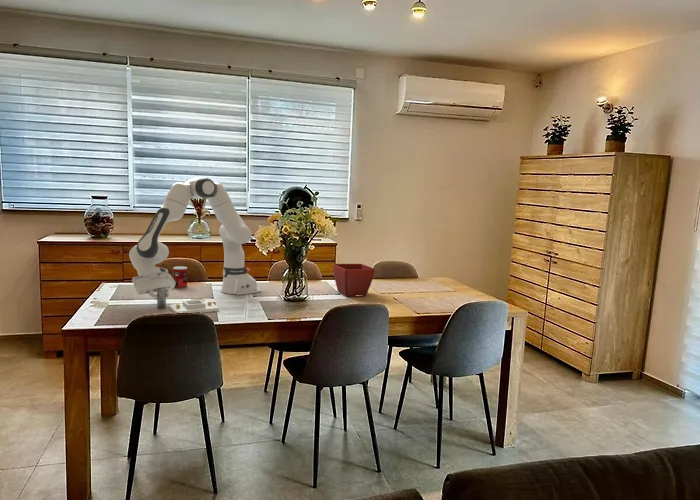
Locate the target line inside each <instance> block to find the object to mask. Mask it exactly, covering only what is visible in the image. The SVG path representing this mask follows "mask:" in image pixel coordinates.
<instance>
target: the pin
mask: <svg viewBox="0 0 700 500" xmlns="http://www.w3.org/2000/svg"><path fill="white" fill-rule="evenodd" d="M156 295H158V297H159V298H158V299H156V300H157V301H156V308H157V309H166V308H167V297H166V289H165V288H159V289H157V292H156Z"/></svg>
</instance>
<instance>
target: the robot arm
mask: <svg viewBox="0 0 700 500" xmlns="http://www.w3.org/2000/svg"><path fill="white" fill-rule="evenodd" d="M192 199H194V200H200V199H207V201H208V202H209V205H210V207H211V210H212V211H213V213H214V215H215V218H216V220H217V221H219V222H220V224H221V225H220V227H219V231H218V232H219V235H220V237H221V241H222V245H223V253H224V254H223V255H224V258H223V260H224V261H223V267H222V268H223V270H222V276H223V279H222V285H221V288H220V292H221V293H224V294H229V295H237V296H239V295H246V294H254V293H261V292H262V289H261V287H258V283H257V280H256V279H255V278H254V277H253V276H251V275H250V274H249V272H251V269H250V268H249V267H246V266H245V251H244V249H243V246H242V245H243V244H247V243H249V241H251V239H252V234H253V233H252V230H251V229H250V228H249V227H248V226H247V224H246V223H245V221H244V220H243V218H242V217H241V216H240V215H239V213H238V211H237V209H236V208H235V205H234V203H233V202H232V199H231V197H230V195H229V194H228V191H227V190H226V188H225V187H224V186H223V183H220V182H217V181H215V182H214V181H213V180H212V179H211V178H210V177H209V178H208V177H204V176H203V177H199V176H197V177H194V178H188V179H186V180H184V181H183V182H181V181H180V182H175V183H173V184H172V186H171V187H170V189H169V191H168V192H167V194H166V197H165V199H164V201H163V203H162V205H161V206H160V208H159V209H158V210H157V211H156V212H155V214H154V216H153V217H152V220H151V221H150V223H149V225H148V227H147V229H146V231H145V232H144V234H143V235H142V236H141V237H140V238H139V240H138V241H137V243H136V245H134V246H133V247H131V249H130V250H129V253H128V256H129V259H130V262H131V264H132V266H133V268H134V269H136V271H137V275H138V276H134V277H132V279H131V282H132V284H133V286H134V289H135V291H136V294H138V295H145V294H148V295H149V296H151V297H152V298H153V300H157V299H158V298H159V297H158V295H157V289H159V288H165V289H166V298H170V296H171V295H170V290H172V289H174V288H175V287H174V286H175V284H176V283H175V281H174V279H173V275H171V274H170V273H169V270H168V269H167V268H164V267H159V266H156V265H158V264H160V263H162V262H164V261H166V260H167V259H168V257H169V254H170V250H169V249H170V248H169V247H168V246H167V244H164V243H163V242H161V241H159V238H160V235H161V233H162V232H163V229H164V228H165V225H166V224H167V223H169V222H175V221H179V220H181V219H182V218H183V216H184V215H185V213H186V211H187V209H188V205H189V202H190V201H191V200H192ZM155 293H156V294H155Z"/></svg>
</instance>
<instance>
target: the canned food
mask: <svg viewBox="0 0 700 500" xmlns="http://www.w3.org/2000/svg"><path fill="white" fill-rule="evenodd" d="M188 272H189V271H188V267H187V266H178V265H177V266H174V267H172V278H173V279H174V281H175V283H176V284H175V286H174V288H180V289H181V288H186V287H187V286H188Z"/></svg>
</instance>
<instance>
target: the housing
mask: <svg viewBox="0 0 700 500" xmlns="http://www.w3.org/2000/svg"><path fill="white" fill-rule="evenodd" d="M168 308H169V309H170V310H171V311H172V313H174V314H175V313H179V312H200V313H199V314H201V313H203V314H204V313H213V311H214V312H220V307H219V306H217V305H216V304H215V303H213V302H212V301H210V300H209V301H203V300H202V299H192V300H191V299H190V300H182V303H175V304H174V303H172V304H169V305H168Z"/></svg>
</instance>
